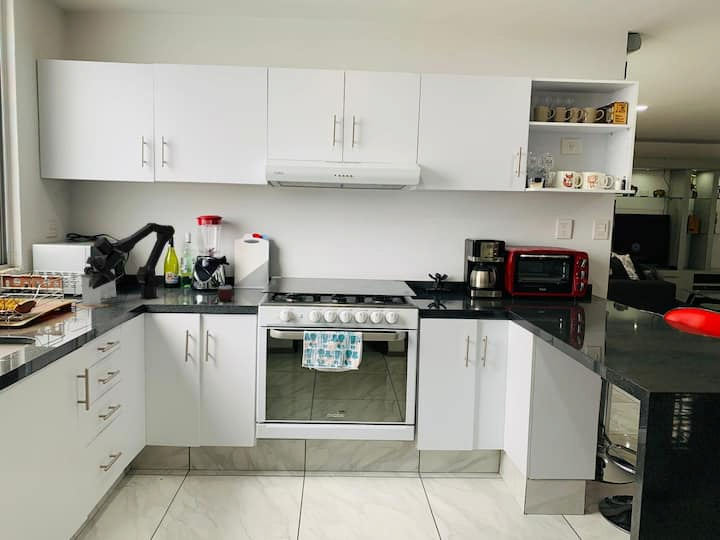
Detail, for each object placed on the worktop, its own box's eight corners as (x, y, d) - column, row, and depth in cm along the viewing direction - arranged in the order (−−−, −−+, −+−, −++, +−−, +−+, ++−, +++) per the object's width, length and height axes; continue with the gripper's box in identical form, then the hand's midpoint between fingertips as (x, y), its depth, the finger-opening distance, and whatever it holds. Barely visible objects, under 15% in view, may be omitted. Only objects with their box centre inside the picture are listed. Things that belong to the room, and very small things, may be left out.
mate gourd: (234, 302, 267) (234, 271, 265) (218, 303, 263) (217, 272, 262) (230, 299, 273) (230, 270, 272) (214, 300, 270) (214, 270, 268)
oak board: (96, 304, 258) (96, 302, 258) (111, 307, 251) (110, 304, 251) (71, 307, 248) (71, 305, 248) (85, 310, 242) (85, 308, 241)
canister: (94, 303, 254) (93, 273, 253) (101, 304, 251) (100, 274, 249) (82, 305, 249) (81, 274, 248) (89, 306, 246) (88, 275, 245)
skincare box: (116, 297, 275) (115, 266, 274) (107, 299, 269) (106, 267, 267) (102, 296, 277) (101, 265, 276) (93, 298, 271) (92, 267, 269)
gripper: (86, 249, 255) (63, 274, 248) (108, 251, 245) (85, 278, 237) (103, 264, 263) (81, 289, 255) (125, 267, 252) (103, 293, 244)
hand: (87, 287), depth 248 cm, fingers open, 9 cm apart
